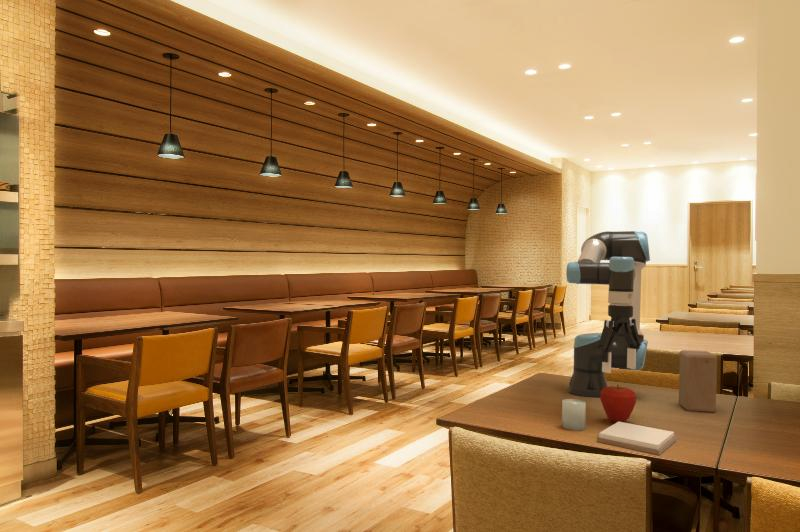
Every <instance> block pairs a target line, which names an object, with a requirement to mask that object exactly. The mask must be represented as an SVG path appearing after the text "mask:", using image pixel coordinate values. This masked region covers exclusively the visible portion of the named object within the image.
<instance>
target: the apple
mask: <svg viewBox="0 0 800 532" xmlns="http://www.w3.org/2000/svg"><path fill="white" fill-rule="evenodd" d="M599 399H600V402H601V404H602V408H603V410H604V412H605V415H606V417H607V418H608V420H610V422H612V423H617V422H618V421H619V422H624V423H625V422H626V421H627V420H629V419H630V417H631V415H632V412H633V411H634V408H635V406H636V404H637V395H636V393H635V392H634V390H633V389H631V388H628V387H623V386H619V384H617V385H616V386H608V387H605V388H604V389H603V390H602V391H601V392H600V397H599Z"/></svg>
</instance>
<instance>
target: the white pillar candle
mask: <svg viewBox="0 0 800 532" xmlns="http://www.w3.org/2000/svg"><path fill="white" fill-rule="evenodd" d="M561 404H562V405H561V406H562V407H561V426H562V428H563V429H566V430H569V431H576V432H577V431H584V430H586V421H587V419H586V418H587V415H586V414H587V413H586V412H587V411H586V409H587V408H586V406H587V401H585V400H582V399H579V398H578V399H577V398H565V399H562V403H561Z"/></svg>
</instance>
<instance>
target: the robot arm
mask: <svg viewBox="0 0 800 532" xmlns="http://www.w3.org/2000/svg"><path fill="white" fill-rule="evenodd" d="M648 239H649V238H648V235H647V233H646V232H645V231H636V230H633V231H631V230H630V231H628V230H627V231H624V230H623V231H601V232H598V233H595V234H593V235H591V236H589V237H588V238H586V239H585V241H583V243H582V245H581V249H580V252H581V253H580V255H579V257H578V259H577V261H569V262H568V263H567V265H566V270H565V271H566V273H565V274H566V275H565V276H566V281H567V282H568V283H569V284H576V285H580V284H581V285H608V294H607V295H608V296H607V297H608V298H607V299H608V300H607V303H608V304H609V305H607V316H608V317H610V320H608V319H605V320H604V322H603V329H602V332H600V333H599V332H591V333H582V334H578V335H576V336H575V337H574V340H573V342H574V343H573V370H572V375H571V377H570V381H569V383H568V387H567V388H568V392H569V393H570V394H573V395H577V396H582V397H591V398H593V397H594V398H600V392H601V391H602V390H603V389H604V388H605V387H609V386H608V382H607V378H606V375H605V373H607V374H611V373H612V369H618V370H619V369H620V370H629V371H639V370H640V371H641V370H642V369H643V368H644V366H645V363H646V362H645V361H646V357H647V356H646V355H647V351H648V350H647V349H648V340H647V339H645V337H644V336H645V335H644V333H642V331H641V325H640V324H641V302H642V301H641V298H642V295H641V294H642V270H643V269H644V268H645V267H646V266H647V262H650V261H651V258H650V257H651V256H650V248H649V240H648ZM601 261H609V262H601Z"/></svg>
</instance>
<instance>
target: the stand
mask: <svg viewBox="0 0 800 532" xmlns="http://www.w3.org/2000/svg"><path fill="white" fill-rule="evenodd" d="M598 435H599V436H597V437H596V442H598V443H601V444H606V445H611V446H616V447H620V448H625V449H629V450H632V451H639V452H642V453H648V454H651V455H656V456H660V455H661V454H662V453H664V452H665V451H666V450H667V449H669V447H671V446H672V445H673V444H674V443H675V442H676V441H677V436H675V431H672V430H671V431H670V430H665V429H660V428H655V427H650V426H649V427H648V426H643V425H639V424H633V423H630V422H629V423H628V422H625V421H624V422H619V421H618V422H617V423H616V422H614V423H613V424H612V425H611V426H608V427H607V428H605V429H604V430H601V431H600V432H599V434H598Z"/></svg>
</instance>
